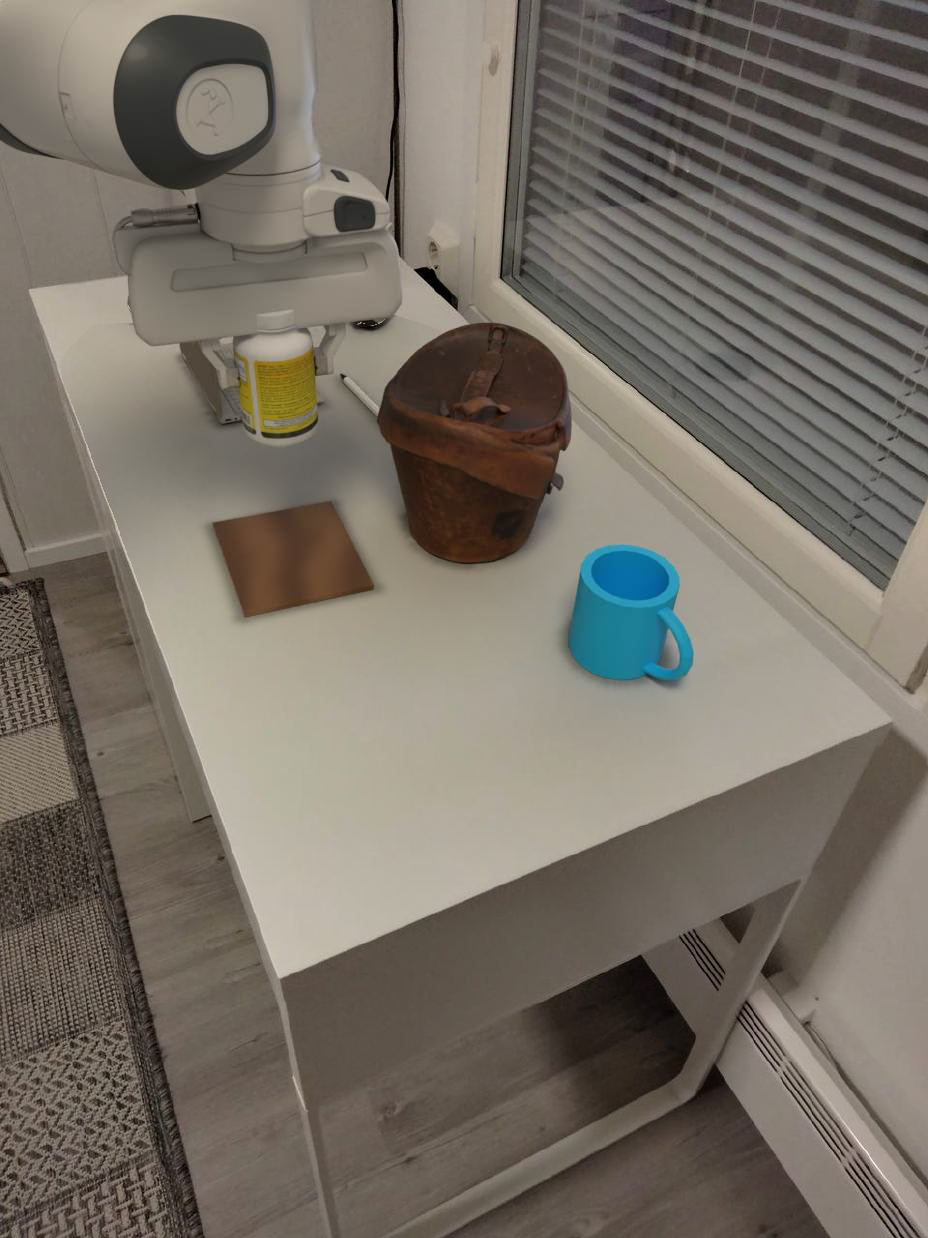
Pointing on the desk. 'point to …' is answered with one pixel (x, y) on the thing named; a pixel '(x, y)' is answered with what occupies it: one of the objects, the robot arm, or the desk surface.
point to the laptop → (216, 381)
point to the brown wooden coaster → (290, 558)
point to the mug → (627, 614)
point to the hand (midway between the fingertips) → (277, 378)
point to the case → (477, 438)
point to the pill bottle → (277, 381)
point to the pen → (360, 394)
